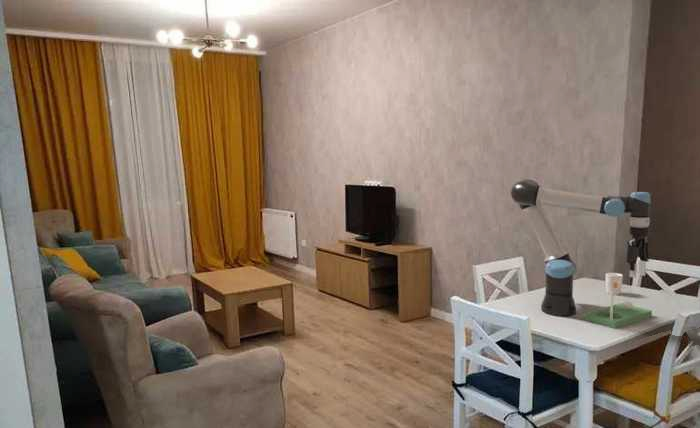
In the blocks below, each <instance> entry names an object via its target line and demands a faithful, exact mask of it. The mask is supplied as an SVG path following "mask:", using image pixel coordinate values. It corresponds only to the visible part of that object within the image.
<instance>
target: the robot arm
mask: <svg viewBox="0 0 700 428" xmlns="http://www.w3.org/2000/svg"><path fill="white" fill-rule="evenodd" d="M510 196H511V198H512V200H513V201H514V203H516V204H518V206H519V208H520V209H521V211H522V212H525V214H526V215H527V218H528V220H529V221H530V224H531V226H532V229H533V231H534V233H535V235H536V238H537V240H538V242H539V244H540V247H541V248H542V251H543V253H544V255H545V258H544V261H543V262H544V263H545V294H544V296H543V299H542V303H541V305H540V306H541V308H540V309H541V310H540V311H542V312H543V313H545V314H548V315H552V316H558V317H570V316H574V315H576V314H577V306H576V303H575V300H574V297H573V292H574V278H575V276H576V275H577V265H576V263H575V262H574V260H572V258H571V256H570V253H569V252H568V251H567V250H564V249H563V247H562V244H561V242H560V240H559V237H558V234H557V233H556V231H555V229H554V227H553V225H552V223H551V220H550V218H549V216H548V214H547V212H546V209H545V207H544V206H548V207H556V208H561V209H568V210H575V211H581V212H588V213H595V214H600V215H607V216H609V217H613V218H614V217H615V218H616V217H619V216H621V215H622V214H629V225H630V226H629V235H630V236H632V237H631V240H627V255H626V262H627V263H628V264H629V278H634V279H637V273H638V275H639V276H643V277H644V276H646V271H647V270H646V267H647V264H646V263H647V262H649V261H650V260H649V259H650V240H651V239H650V238H649V237H647V236H649V235H650V227H649V226H650V222H651V220H650V217H651V216H650V215H651V194H650V192H646V191H635V192H634V191H633V192H631V194H630V196H614V195H613V196H612V195H611V196H610V195H608V196H598V195H590V194H585V193H578V192H572V191H564V190H563V191H562V190H557V189H555V190H554V189H550V188H543V186H542V185H539V184H538V183H537V182H536V181H535V180H531V179H524V180H523V179H522V180H520V181H518V182H516V183H515V184H514V185H512V187H511V189H510ZM638 255H639V260H638V263H637V259H638ZM637 269H638V270H637Z"/></svg>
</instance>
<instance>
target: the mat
mask: <svg viewBox="0 0 700 428" xmlns="http://www.w3.org/2000/svg"><path fill="white" fill-rule="evenodd" d="M622 303H623V302H620V303H619V302H618V303H615V304H613V321H610V305H609V306H606V307H603V308H599V309H595V310H592V311H588V312H586V313H583V320H586V321H589V322H592V323H595V324H598V325H602V326H606V327H609V328H612V329H617V328H620V327H624V326H626V325H629V324H632V323H633V324H634V323H635V322H637V321H638V322H639V321H641V320H644V319H648V318H650V317H652V316H653V314H652V313H653V312H652V311H653V310H651V309H648V308H647V309H646V308H642V307H638V306H634V305H632V308H631V309H629V310H626V309H624V308H623V306H622Z"/></svg>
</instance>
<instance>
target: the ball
mask: <svg viewBox="0 0 700 428" xmlns="http://www.w3.org/2000/svg"><path fill="white" fill-rule="evenodd" d="M621 303H622V306H623V308H624V309H626V310H629V309H631V308H632V306H633V303H632V302H631V301H630V300H624V301H623V302H621Z"/></svg>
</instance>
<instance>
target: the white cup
mask: <svg viewBox="0 0 700 428" xmlns="http://www.w3.org/2000/svg"><path fill="white" fill-rule="evenodd" d="M623 277H624V276H623V274H622V273H617V272H606V273H605V292H606V293H607V294H609V295H611V283H616V282H617V288H614V295H615V296H618V294H619V295H621V294H622V286H623ZM614 295H613V296H614Z"/></svg>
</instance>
